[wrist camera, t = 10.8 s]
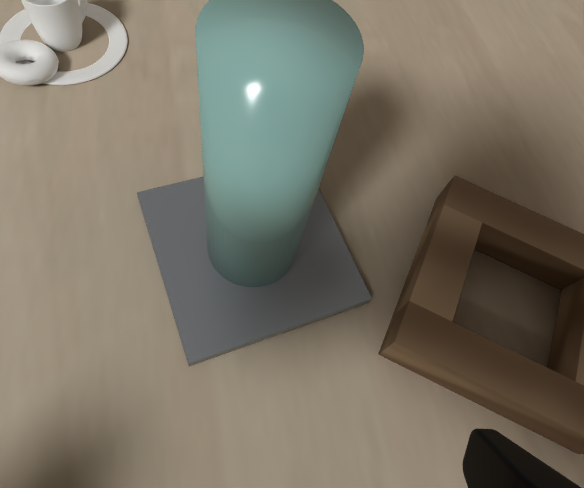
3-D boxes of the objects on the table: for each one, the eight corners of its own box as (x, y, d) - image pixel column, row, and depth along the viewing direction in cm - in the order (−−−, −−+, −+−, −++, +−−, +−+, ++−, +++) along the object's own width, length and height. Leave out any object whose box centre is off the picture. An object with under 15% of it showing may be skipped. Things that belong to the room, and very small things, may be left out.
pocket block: (578, 454, 23) (616, 451, 21) (378, 354, 24) (394, 341, 22) (602, 275, 28) (635, 258, 26) (436, 198, 29) (454, 175, 27)
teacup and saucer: (18, 112, 28) (-12, 58, 24) (-31, 31, 30) (-65, -29, 27) (150, 64, 31) (141, 10, 28) (96, -6, 34) (81, -64, 30)
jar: (313, 248, 25) (396, 48, 14) (250, 305, 24) (282, 128, 12) (253, 193, 27) (280, -38, 15) (188, 242, 25) (159, 22, 13)
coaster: (368, 302, 25) (372, 298, 25) (189, 366, 22) (188, 363, 22) (300, 159, 29) (301, 153, 28) (138, 198, 26) (136, 192, 26)
